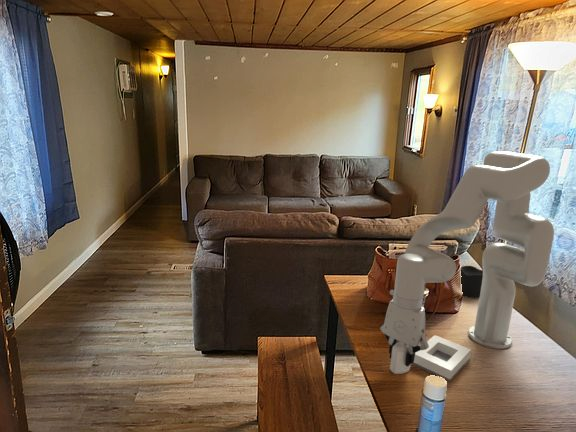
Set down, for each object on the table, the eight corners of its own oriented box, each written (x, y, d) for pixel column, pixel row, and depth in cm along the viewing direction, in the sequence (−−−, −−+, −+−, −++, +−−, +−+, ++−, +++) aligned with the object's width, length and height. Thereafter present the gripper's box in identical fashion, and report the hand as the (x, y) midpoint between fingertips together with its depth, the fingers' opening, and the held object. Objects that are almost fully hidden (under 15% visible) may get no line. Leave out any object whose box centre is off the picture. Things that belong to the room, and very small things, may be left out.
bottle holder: (433, 345, 129) (434, 334, 128) (469, 360, 122) (471, 349, 121) (411, 364, 119) (413, 353, 118) (449, 381, 112) (451, 370, 111)
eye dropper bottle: (411, 376, 114) (416, 337, 111) (390, 374, 114) (394, 335, 111) (408, 366, 118) (413, 328, 115) (388, 364, 119) (392, 326, 115)
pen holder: (478, 289, 169) (481, 266, 167) (486, 299, 160) (490, 275, 158) (454, 287, 170) (457, 265, 168) (461, 298, 161) (465, 274, 159)
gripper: (373, 294, 113) (367, 353, 118) (431, 316, 102) (423, 380, 107) (387, 286, 119) (381, 342, 123) (444, 306, 108) (435, 367, 112)
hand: (401, 359), depth 115 cm, fingers closed on eye dropper bottle, 4 cm apart
